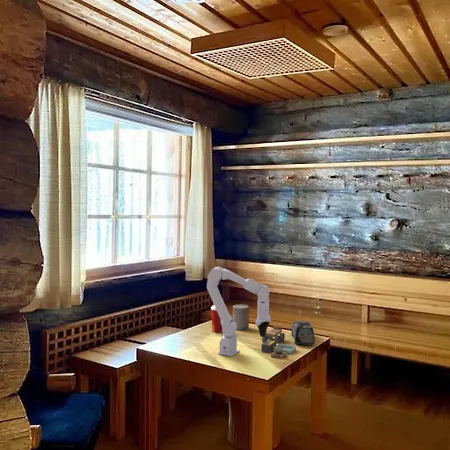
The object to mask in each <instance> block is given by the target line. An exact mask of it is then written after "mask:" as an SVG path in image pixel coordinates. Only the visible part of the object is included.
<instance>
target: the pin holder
mask: <svg viewBox="0 0 450 450" xmlns="http://www.w3.org/2000/svg"><path fill="white" fill-rule="evenodd" d="M286 356H287V354H286V352H281V355H279V354H276V351H275V350H273V351H272V352H270V357H271V358H275V359H282V360H283V359H284V358H285V357H286Z"/></svg>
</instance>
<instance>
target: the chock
mask: <svg viewBox="0 0 450 450" xmlns="http://www.w3.org/2000/svg"><path fill="white" fill-rule="evenodd" d="M274 351H275V341H271V340H267V341H266V342H264V343H263V342H262V344H261V352H262V353H268V354H271V353H273V352H274Z"/></svg>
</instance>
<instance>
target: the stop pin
mask: <svg viewBox="0 0 450 450" xmlns="http://www.w3.org/2000/svg"><path fill="white" fill-rule="evenodd" d="M281 344H282V343H279V344H277V345H276V354H279V355H281Z"/></svg>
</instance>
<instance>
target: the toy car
mask: <svg viewBox="0 0 450 450" xmlns="http://www.w3.org/2000/svg"><path fill="white" fill-rule="evenodd" d="M290 331H291V337H293V340H294V345H311V346H313V345H315V333H314V329H313V326H312V324H311V322H310V321H307V320H293V322H292V324H291V329H290Z"/></svg>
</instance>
